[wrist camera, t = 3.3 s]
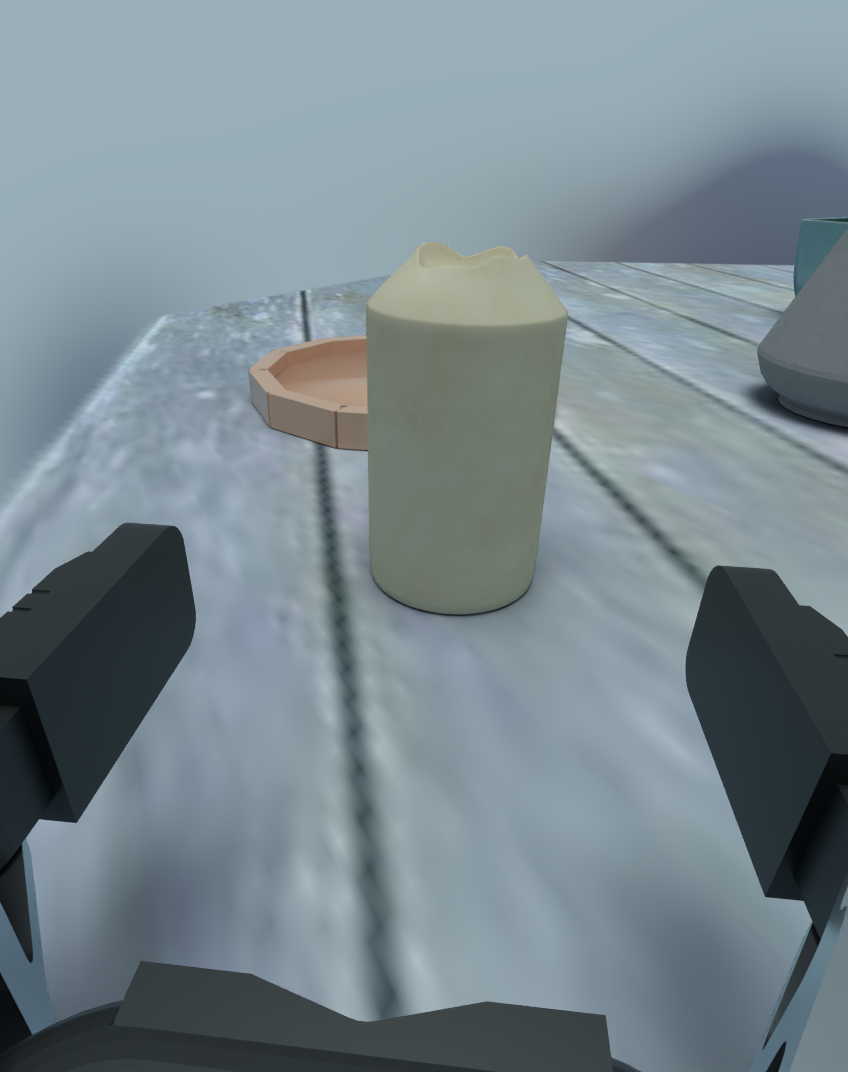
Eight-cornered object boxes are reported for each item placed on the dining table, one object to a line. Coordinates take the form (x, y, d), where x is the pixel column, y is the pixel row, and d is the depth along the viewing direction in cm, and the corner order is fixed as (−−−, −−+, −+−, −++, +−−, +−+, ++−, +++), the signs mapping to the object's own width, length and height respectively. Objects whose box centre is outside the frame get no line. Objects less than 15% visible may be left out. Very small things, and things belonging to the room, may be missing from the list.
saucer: (465, 353, 49) (467, 328, 48) (614, 427, 35) (619, 394, 34) (231, 373, 42) (227, 344, 41) (302, 473, 29) (300, 434, 28)
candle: (335, 568, 22) (321, 242, 17) (444, 515, 26) (458, 234, 21) (460, 641, 19) (486, 266, 14) (565, 569, 22) (615, 251, 18)
